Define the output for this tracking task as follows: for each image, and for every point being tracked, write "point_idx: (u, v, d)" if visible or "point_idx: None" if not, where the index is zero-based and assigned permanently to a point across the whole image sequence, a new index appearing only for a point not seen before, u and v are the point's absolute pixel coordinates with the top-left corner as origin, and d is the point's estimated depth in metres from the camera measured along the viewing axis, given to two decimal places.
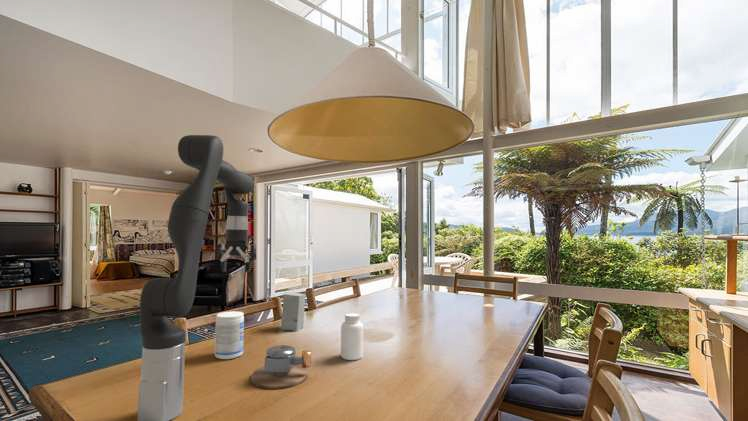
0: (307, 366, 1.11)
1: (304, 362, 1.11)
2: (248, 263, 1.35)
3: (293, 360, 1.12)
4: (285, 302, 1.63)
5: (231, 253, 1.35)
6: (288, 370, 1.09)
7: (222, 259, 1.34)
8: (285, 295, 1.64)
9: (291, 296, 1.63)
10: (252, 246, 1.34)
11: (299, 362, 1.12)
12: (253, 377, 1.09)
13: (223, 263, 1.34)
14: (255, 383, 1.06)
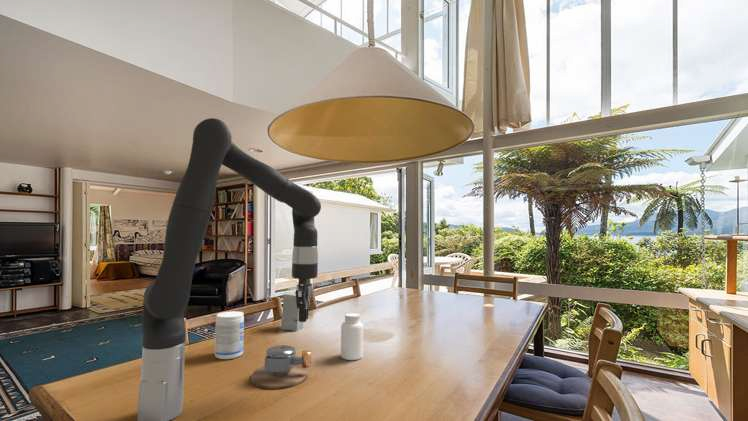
0: (307, 366, 1.11)
1: (304, 362, 1.11)
2: None
3: (293, 360, 1.12)
4: (285, 302, 1.63)
5: None
6: (288, 370, 1.09)
7: (306, 305, 1.06)
8: (285, 295, 1.64)
9: (291, 296, 1.63)
10: None
11: (299, 362, 1.12)
12: (253, 377, 1.09)
13: None
14: (255, 383, 1.06)
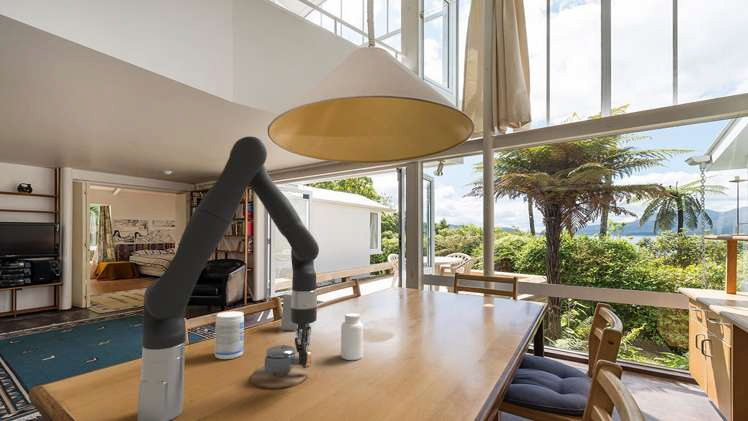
0: (307, 366, 1.11)
1: None
2: None
3: (293, 360, 1.12)
4: (285, 302, 1.63)
5: None
6: (288, 370, 1.09)
7: (306, 349, 1.06)
8: (285, 295, 1.64)
9: None
10: None
11: None
12: (253, 377, 1.09)
13: None
14: (255, 383, 1.06)
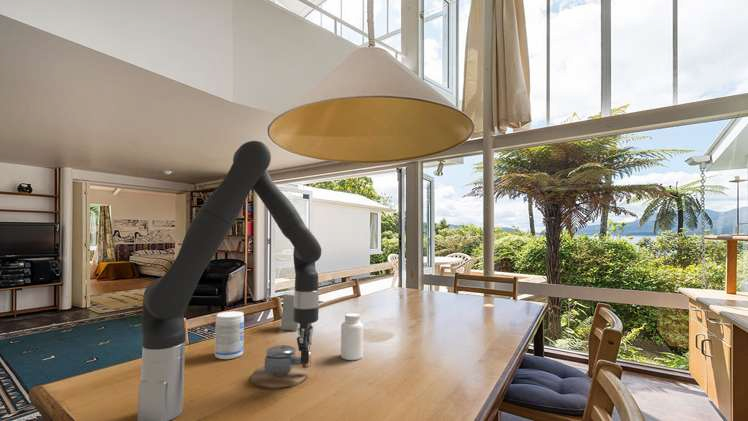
0: (307, 366, 1.11)
1: None
2: (308, 350, 1.11)
3: (293, 360, 1.12)
4: (285, 302, 1.63)
5: None
6: (288, 370, 1.09)
7: (308, 348, 1.09)
8: (285, 295, 1.64)
9: (291, 296, 1.63)
10: None
11: (299, 362, 1.12)
12: (253, 377, 1.09)
13: (308, 353, 1.09)
14: (255, 383, 1.06)
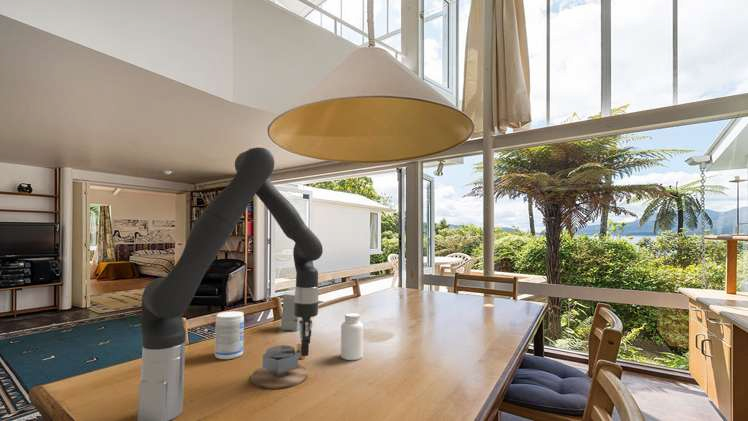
0: (304, 357, 1.19)
1: None
2: None
3: None
4: (285, 302, 1.63)
5: None
6: (297, 365, 1.13)
7: None
8: (285, 295, 1.64)
9: (291, 296, 1.63)
10: None
11: (297, 356, 1.17)
12: (253, 377, 1.09)
13: None
14: (255, 383, 1.06)
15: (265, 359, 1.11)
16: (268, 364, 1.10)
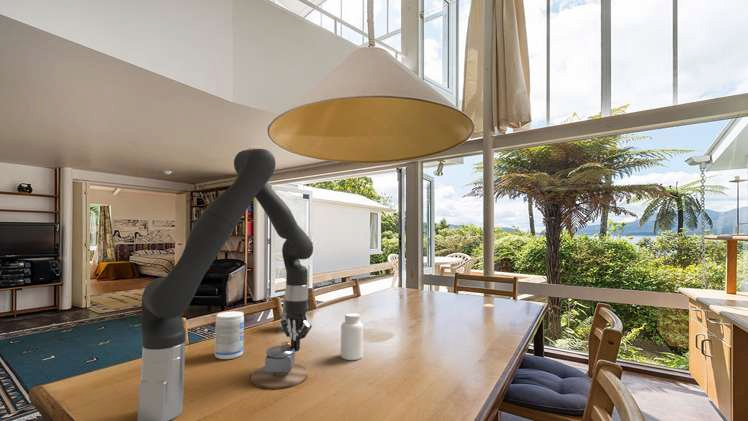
0: None
1: None
2: None
3: None
4: None
5: None
6: (294, 361, 1.16)
7: None
8: None
9: None
10: None
11: None
12: (253, 377, 1.09)
13: None
14: (255, 383, 1.06)
15: (269, 362, 1.09)
16: (275, 366, 1.09)
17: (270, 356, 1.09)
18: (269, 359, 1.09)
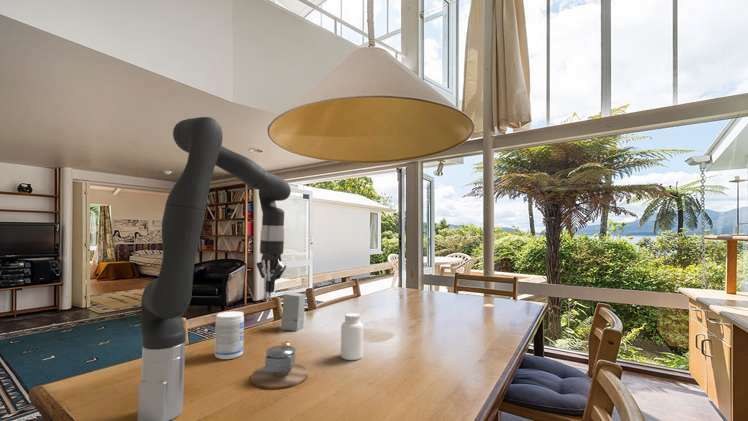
0: None
1: None
2: None
3: None
4: (285, 302, 1.63)
5: None
6: (294, 361, 1.16)
7: None
8: (285, 295, 1.64)
9: (291, 296, 1.63)
10: None
11: None
12: (253, 377, 1.09)
13: None
14: (255, 383, 1.06)
15: (269, 362, 1.09)
16: (275, 366, 1.09)
17: (270, 356, 1.09)
18: (269, 359, 1.09)
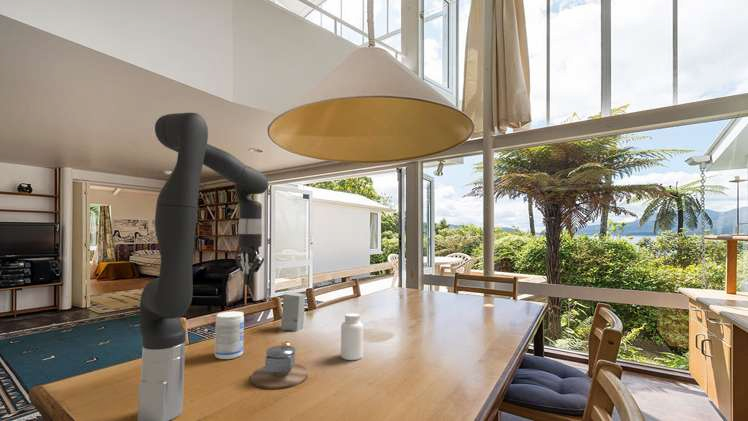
0: None
1: None
2: None
3: None
4: (285, 302, 1.63)
5: None
6: (294, 361, 1.16)
7: None
8: (285, 295, 1.64)
9: (291, 296, 1.63)
10: None
11: None
12: (253, 377, 1.09)
13: None
14: (255, 383, 1.06)
15: (269, 362, 1.09)
16: (275, 366, 1.09)
17: (270, 356, 1.09)
18: (269, 359, 1.09)
